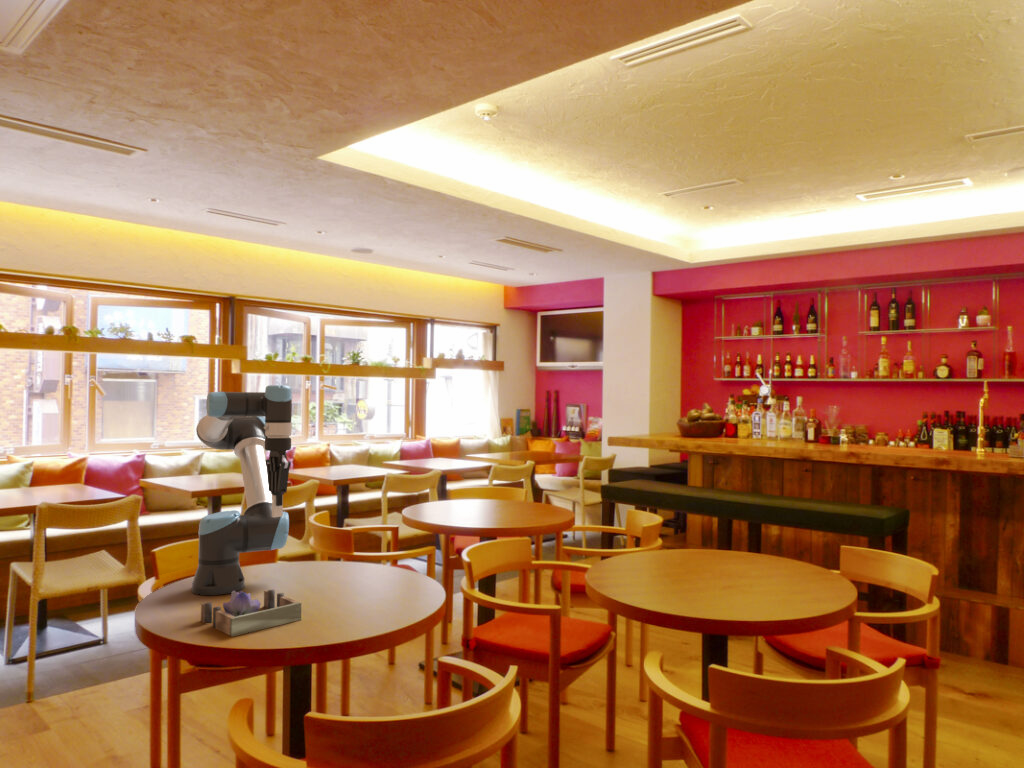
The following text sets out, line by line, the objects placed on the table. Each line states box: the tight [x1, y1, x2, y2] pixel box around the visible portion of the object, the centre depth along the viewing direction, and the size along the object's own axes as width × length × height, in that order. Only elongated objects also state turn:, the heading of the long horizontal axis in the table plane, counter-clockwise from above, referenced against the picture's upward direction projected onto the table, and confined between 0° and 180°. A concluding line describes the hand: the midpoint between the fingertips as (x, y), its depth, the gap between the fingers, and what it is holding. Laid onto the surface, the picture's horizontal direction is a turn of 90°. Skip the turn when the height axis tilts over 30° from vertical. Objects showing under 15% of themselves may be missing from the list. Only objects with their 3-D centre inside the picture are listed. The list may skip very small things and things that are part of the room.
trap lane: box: [200, 589, 302, 638], centre depth 188 cm, size 18×20×5 cm
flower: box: [222, 590, 261, 617], centre depth 185 cm, size 9×9×10 cm
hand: (277, 516), depth 210 cm, fingers closed
